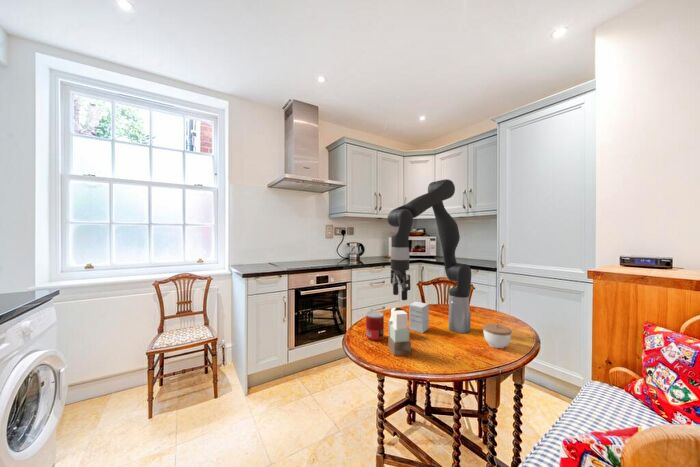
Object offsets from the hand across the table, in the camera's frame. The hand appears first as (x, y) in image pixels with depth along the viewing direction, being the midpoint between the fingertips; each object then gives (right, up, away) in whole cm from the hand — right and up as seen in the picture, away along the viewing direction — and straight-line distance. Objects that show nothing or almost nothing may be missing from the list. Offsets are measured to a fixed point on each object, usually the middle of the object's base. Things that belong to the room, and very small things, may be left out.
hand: (399, 297), depth 105 cm
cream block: (0, -12, 0) cm, 12 cm away
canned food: (-9, -22, +13) cm, 27 cm away
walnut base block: (0, -22, 0) cm, 22 cm away
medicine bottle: (+2, -22, +17) cm, 28 cm away
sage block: (0, -17, 0) cm, 17 cm away
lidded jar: (+43, -22, +5) cm, 49 cm away
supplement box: (+14, -22, +23) cm, 35 cm away
